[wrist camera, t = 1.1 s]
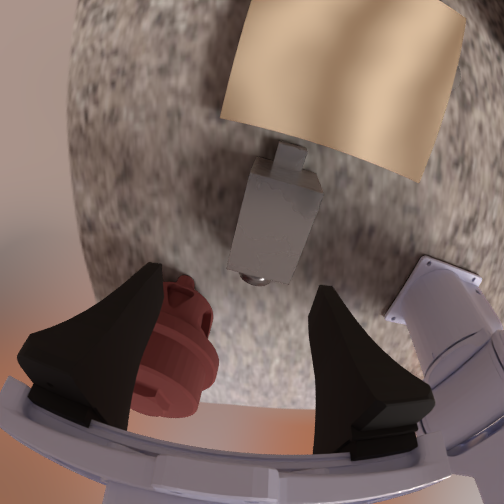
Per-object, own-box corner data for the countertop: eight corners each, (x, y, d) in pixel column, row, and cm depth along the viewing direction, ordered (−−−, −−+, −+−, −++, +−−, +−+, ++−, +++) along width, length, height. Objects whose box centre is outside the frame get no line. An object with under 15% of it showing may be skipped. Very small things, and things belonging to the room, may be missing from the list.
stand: (449, 22, 11) (466, 18, 9) (405, 172, 19) (419, 183, 17) (274, -46, 11) (272, -61, 9) (227, 115, 18) (219, 118, 16)
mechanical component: (137, 315, 30) (140, 244, 25) (219, 343, 31) (244, 277, 26) (91, 404, 20) (69, 342, 14) (196, 442, 20) (218, 399, 15)
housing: (322, 153, 19) (332, 169, 15) (282, 266, 25) (282, 301, 21) (262, 135, 19) (256, 146, 15) (232, 253, 24) (222, 286, 21)
